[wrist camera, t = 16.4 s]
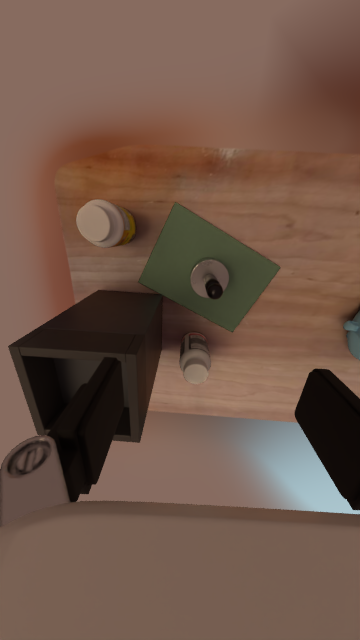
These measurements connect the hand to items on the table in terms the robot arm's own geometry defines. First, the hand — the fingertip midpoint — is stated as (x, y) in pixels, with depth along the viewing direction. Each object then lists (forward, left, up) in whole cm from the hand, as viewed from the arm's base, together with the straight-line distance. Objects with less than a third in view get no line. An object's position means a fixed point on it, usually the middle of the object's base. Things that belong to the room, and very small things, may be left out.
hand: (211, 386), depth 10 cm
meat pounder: (+2, +1, -27) cm, 27 cm away
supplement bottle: (-15, +1, -28) cm, 31 cm away
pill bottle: (+7, -12, -28) cm, 31 cm away
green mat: (+2, +1, -27) cm, 28 cm away
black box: (-6, -14, -27) cm, 31 cm away
